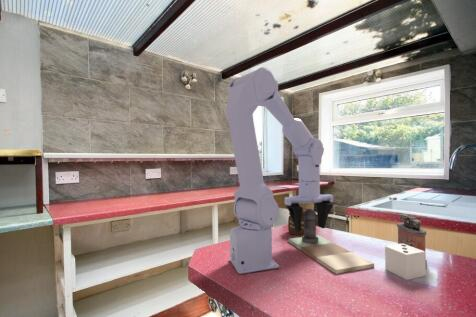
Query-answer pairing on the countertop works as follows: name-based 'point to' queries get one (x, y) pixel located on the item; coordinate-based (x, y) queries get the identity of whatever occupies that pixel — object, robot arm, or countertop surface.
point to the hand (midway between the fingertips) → (309, 228)
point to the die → (405, 261)
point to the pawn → (309, 227)
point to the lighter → (411, 233)
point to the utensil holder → (291, 224)
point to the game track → (332, 255)
